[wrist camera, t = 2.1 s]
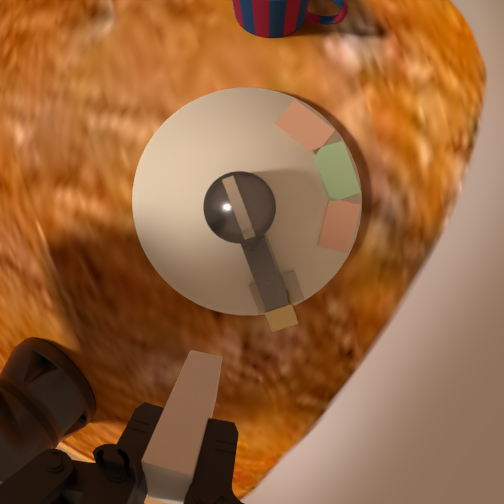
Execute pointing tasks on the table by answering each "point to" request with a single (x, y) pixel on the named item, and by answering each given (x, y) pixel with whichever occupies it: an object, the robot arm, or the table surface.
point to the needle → (251, 237)
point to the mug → (280, 16)
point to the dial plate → (264, 166)
